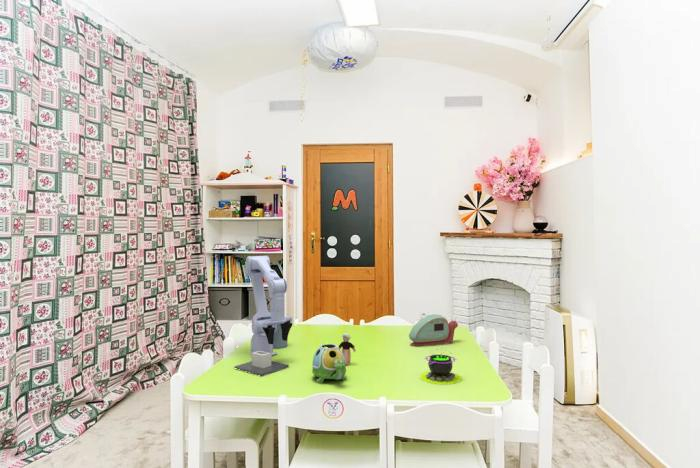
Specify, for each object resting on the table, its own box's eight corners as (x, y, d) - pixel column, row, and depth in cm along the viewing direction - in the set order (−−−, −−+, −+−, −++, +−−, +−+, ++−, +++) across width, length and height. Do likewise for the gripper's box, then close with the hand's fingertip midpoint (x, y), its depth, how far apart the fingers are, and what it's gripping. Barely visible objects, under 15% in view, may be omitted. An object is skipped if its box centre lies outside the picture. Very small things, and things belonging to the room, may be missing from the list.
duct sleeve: (271, 365, 182) (271, 353, 182) (262, 368, 179) (262, 355, 179) (260, 362, 186) (260, 350, 186) (251, 365, 183) (251, 352, 183)
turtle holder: (324, 390, 157) (323, 355, 157) (307, 375, 173) (307, 343, 173) (357, 385, 162) (357, 351, 162) (338, 370, 178) (337, 340, 178)
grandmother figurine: (336, 365, 186) (336, 333, 186) (338, 362, 189) (337, 331, 189) (355, 365, 185) (355, 334, 184) (356, 363, 188) (356, 332, 188)
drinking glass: (263, 348, 214) (263, 322, 214) (273, 343, 223) (273, 318, 223) (283, 349, 211) (283, 323, 211) (292, 344, 220) (292, 319, 220)
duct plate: (234, 368, 182) (234, 358, 182) (261, 360, 193) (261, 351, 193) (261, 376, 172) (261, 365, 172) (288, 367, 183) (288, 357, 183)
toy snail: (413, 347, 212) (413, 317, 212) (406, 344, 220) (406, 315, 220) (461, 343, 220) (461, 314, 220) (453, 340, 227) (453, 311, 227)
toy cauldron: (432, 369, 179) (431, 341, 179) (468, 376, 170) (468, 347, 170) (412, 379, 168) (412, 349, 168) (450, 387, 158) (449, 355, 158)
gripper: (270, 312, 180) (270, 347, 180) (297, 307, 191) (297, 340, 192) (258, 310, 185) (259, 344, 185) (285, 305, 196) (285, 337, 196)
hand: (277, 342), depth 188 cm, fingers open, 7 cm apart
